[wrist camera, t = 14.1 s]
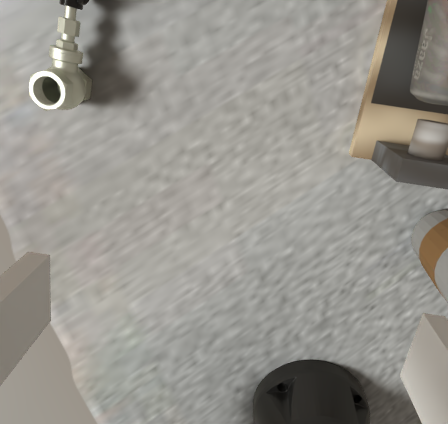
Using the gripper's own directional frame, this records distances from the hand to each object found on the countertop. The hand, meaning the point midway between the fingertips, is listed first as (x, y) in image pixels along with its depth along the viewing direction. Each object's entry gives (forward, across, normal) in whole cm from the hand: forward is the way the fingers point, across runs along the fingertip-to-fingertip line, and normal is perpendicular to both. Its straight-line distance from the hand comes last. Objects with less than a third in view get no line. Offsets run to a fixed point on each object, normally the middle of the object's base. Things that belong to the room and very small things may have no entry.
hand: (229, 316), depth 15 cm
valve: (+32, +18, -7) cm, 38 cm away
